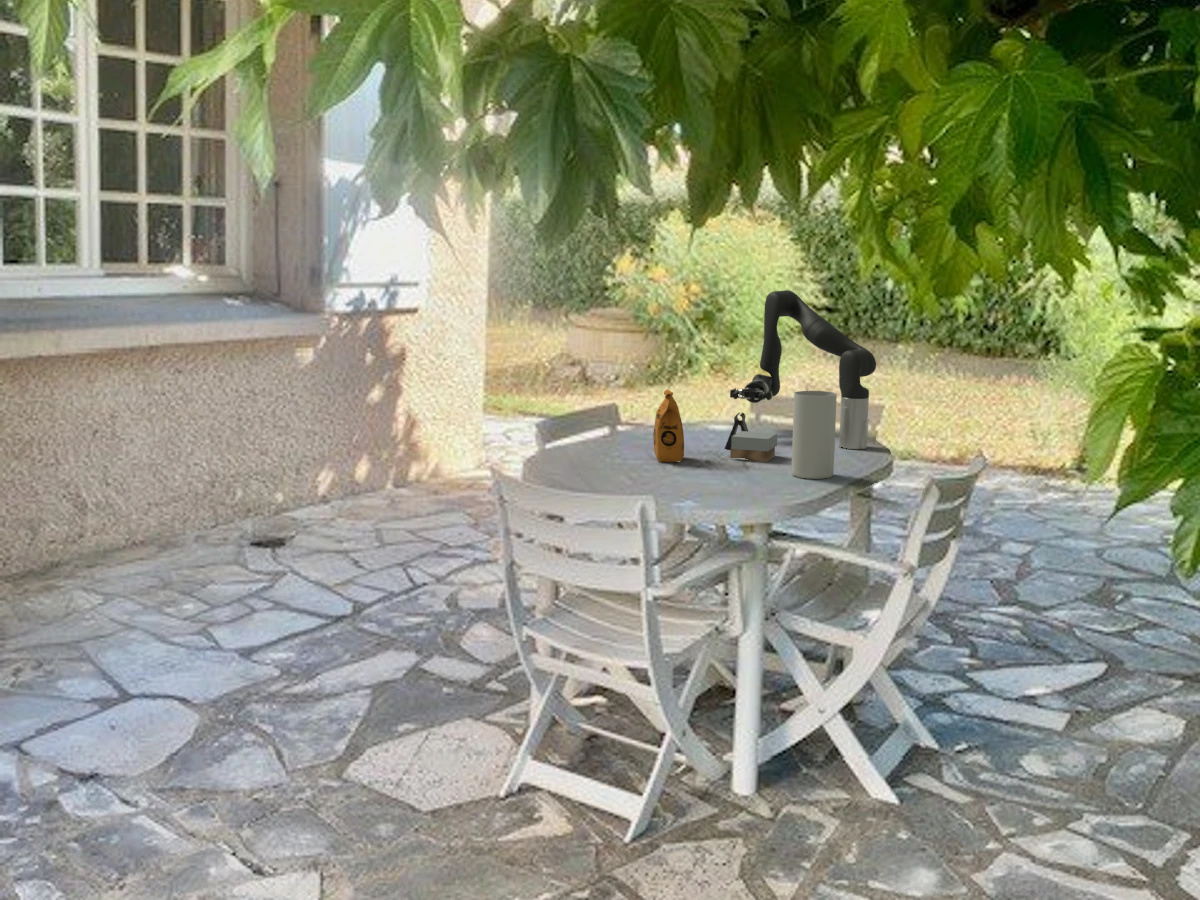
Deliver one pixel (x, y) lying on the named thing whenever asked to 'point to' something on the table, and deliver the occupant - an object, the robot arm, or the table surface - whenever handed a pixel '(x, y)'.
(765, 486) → the table surface
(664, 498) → the table surface
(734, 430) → the black triangular frame
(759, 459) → the bottom slab
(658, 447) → the coffee package
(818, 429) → the cylinder vase
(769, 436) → the top slab
